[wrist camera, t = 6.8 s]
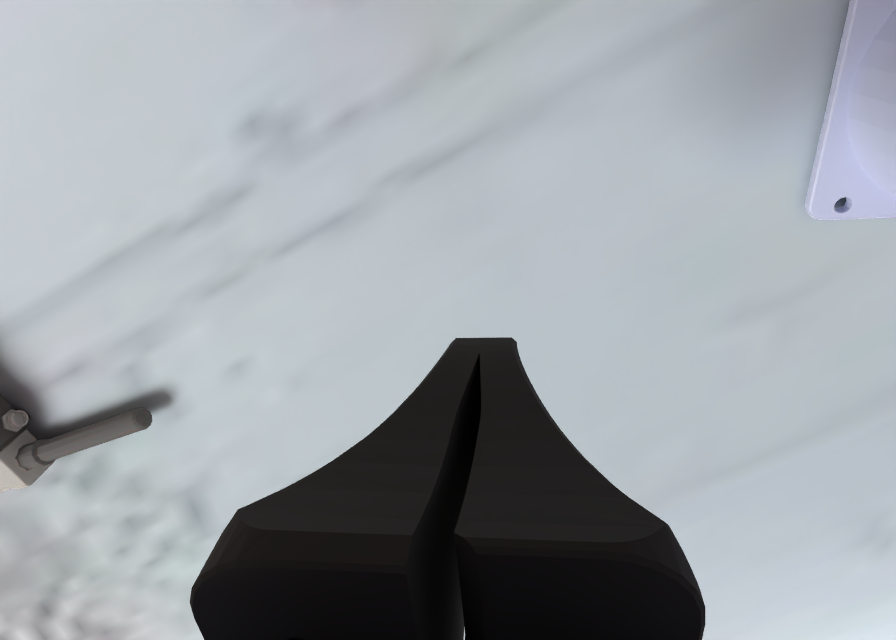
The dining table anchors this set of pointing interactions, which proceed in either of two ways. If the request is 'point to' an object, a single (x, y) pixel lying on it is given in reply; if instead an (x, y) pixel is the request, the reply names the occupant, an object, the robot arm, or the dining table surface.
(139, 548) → the dining table surface
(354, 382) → the dining table surface
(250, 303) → the dining table surface
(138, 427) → the walkie-talkie
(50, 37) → the dining table surface
